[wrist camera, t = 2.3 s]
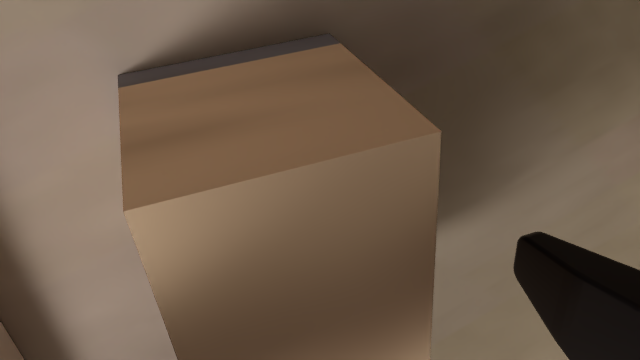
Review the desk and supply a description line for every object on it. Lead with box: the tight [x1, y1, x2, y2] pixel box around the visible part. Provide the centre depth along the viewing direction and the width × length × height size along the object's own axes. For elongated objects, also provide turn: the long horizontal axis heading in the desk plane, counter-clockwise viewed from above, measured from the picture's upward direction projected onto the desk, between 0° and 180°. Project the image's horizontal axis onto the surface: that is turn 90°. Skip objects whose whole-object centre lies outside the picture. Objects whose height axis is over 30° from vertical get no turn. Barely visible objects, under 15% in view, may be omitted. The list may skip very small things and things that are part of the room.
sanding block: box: [118, 34, 441, 360], centre depth 11 cm, size 7×4×5 cm, turn 5°
